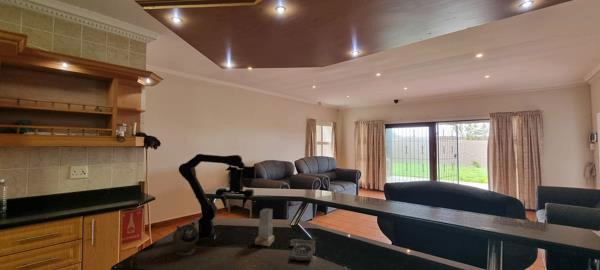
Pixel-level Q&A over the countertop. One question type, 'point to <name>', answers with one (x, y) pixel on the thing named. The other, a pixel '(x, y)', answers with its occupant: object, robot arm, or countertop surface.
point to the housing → (265, 224)
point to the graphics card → (302, 250)
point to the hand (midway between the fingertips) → (234, 208)
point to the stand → (264, 241)
